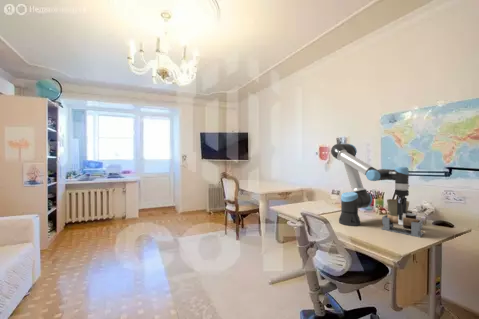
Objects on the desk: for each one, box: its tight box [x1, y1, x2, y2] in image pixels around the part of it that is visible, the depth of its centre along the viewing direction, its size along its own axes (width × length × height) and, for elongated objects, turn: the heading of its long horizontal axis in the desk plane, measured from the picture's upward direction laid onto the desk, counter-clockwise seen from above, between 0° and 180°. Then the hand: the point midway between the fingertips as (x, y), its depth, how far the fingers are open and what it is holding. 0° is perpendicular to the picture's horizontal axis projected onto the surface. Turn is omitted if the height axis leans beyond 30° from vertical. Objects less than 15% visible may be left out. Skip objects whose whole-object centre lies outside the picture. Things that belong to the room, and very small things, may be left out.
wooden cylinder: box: [387, 214, 420, 226], centre depth 158 cm, size 17×5×5 cm, turn 41°
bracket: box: [381, 214, 424, 238], centre depth 159 cm, size 22×8×9 cm, turn 41°
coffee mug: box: [402, 212, 417, 230], centre depth 169 cm, size 12×9×10 cm
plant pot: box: [386, 198, 410, 216], centre depth 186 cm, size 15×15×16 cm
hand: (402, 223), depth 159 cm, fingers closed on wooden cylinder, 5 cm apart
